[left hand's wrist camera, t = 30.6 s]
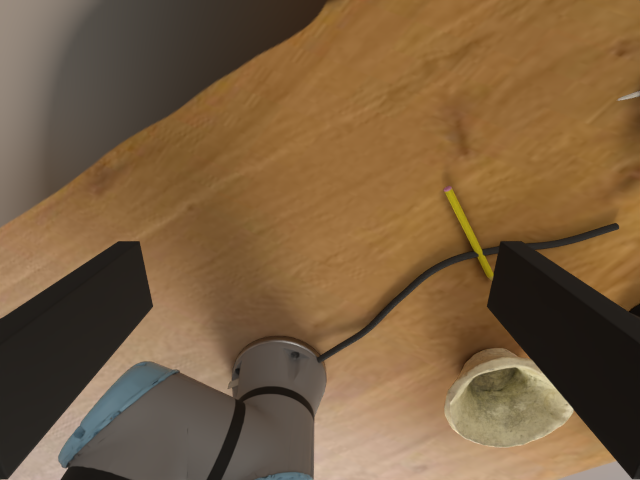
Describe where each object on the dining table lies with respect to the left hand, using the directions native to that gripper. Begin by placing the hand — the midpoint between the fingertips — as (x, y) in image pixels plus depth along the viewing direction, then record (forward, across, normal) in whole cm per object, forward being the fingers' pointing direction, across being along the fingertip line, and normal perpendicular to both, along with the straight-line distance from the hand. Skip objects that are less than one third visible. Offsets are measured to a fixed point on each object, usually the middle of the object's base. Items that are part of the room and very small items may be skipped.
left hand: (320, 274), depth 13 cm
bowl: (+33, +27, -34) cm, 55 cm away
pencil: (+33, +21, -11) cm, 41 cm away
